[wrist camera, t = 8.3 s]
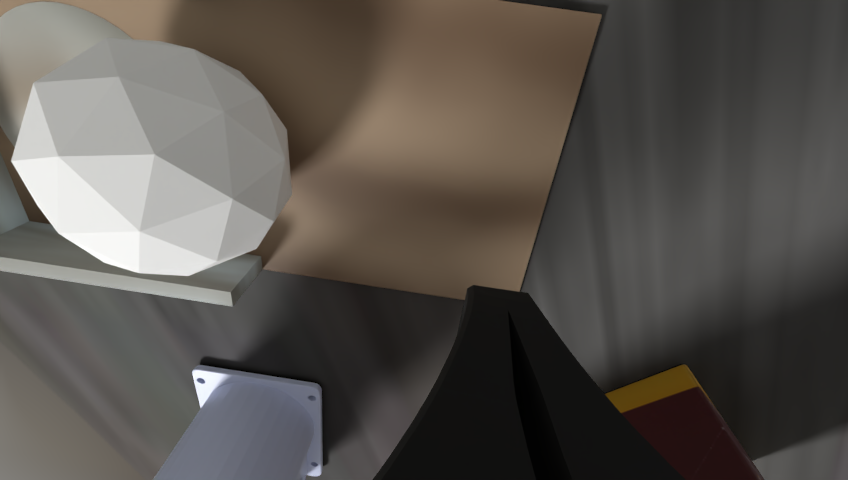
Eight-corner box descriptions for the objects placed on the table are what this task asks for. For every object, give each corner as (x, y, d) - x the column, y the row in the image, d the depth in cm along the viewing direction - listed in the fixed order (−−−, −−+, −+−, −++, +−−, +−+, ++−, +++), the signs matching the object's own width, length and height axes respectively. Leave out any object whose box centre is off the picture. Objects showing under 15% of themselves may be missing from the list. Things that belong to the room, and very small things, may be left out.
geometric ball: (287, 157, 20) (256, 313, 17) (92, 98, 17) (7, 281, 14) (334, 50, 14) (300, 262, 11) (42, -79, 11) (-133, 179, 7)
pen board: (514, 304, 20) (521, 351, 18) (25, 229, 21) (-44, 263, 18) (599, 14, 14) (633, 13, 11) (-110, -83, 14) (-251, -107, 12)
